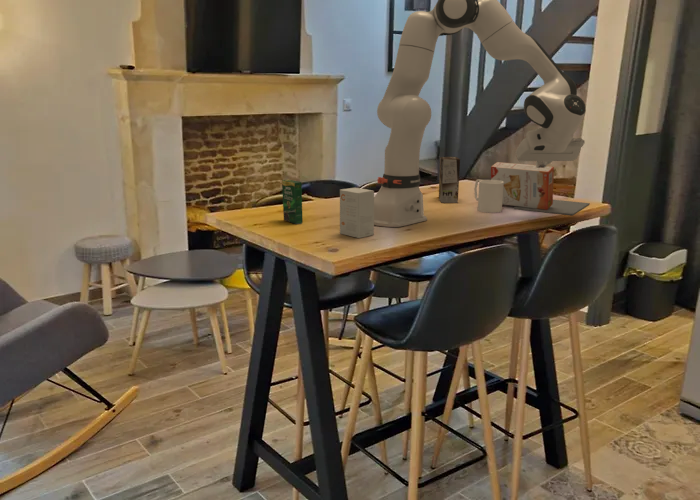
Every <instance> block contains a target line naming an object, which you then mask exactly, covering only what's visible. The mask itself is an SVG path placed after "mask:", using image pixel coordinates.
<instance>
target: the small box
mask: <svg viewBox="0 0 700 500" xmlns="http://www.w3.org/2000/svg"><path fill="white" fill-rule="evenodd" d="M374 197H375V190H371V189H366V188H360V187H350V188H342V189H339V234H341V235H346V236H350V237H353V238H356V239H360V238H365V237H370V236H374V235H375V234H374V233H375V231H374V230H375V225H374Z"/></svg>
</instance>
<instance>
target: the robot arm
mask: <svg viewBox="0 0 700 500" xmlns="http://www.w3.org/2000/svg"><path fill="white" fill-rule="evenodd" d="M464 28H465V29H466V28H467V29H470V30H471V31H472V32H474V33H473V34H476V36H477V39H478V40H479V41H480V43H481V45H482V46H483V48H484V50H485V51H486V52H487V54H488V55H489V56H490V57H491V58H492V59H495V60H498V61H503V62H504V61H513V60H519V61H520V60H522V61H525V62H526V63H528V65H530V66H531V67H532V69H533V70H534V71H535V72H536V74H537V75H538V76H539V77H540V78H541V80H542V81H543V85H541V86H540V87H538V88H537V89H536V90H534V91H533V92H532V93H530V94H529V95H528V96H527V97H525V98H524V101H523V111H524V114H525V115H526V117H527V118H528V120H529V121H531V122H532V123H534V124H535V125H537V126H539V127H540V128H537V129H531V130H528V131H527V132H526V134H525V138H523V139H522V140H521V141H520V143H518V146H517V147H516V149H515V156H516V159H517V161H518V162H535V165H536V168H545V167H546V166H548V165H550V164H551V163H552V162H574V161H575V160H577V159H578V158H579V155H580V153H581V150H582V148H583V146H584V145H585V140H584V139H582V138H580V137H578V138H574V134H576V132H577V131H578V130H579V128H580V126H581V125H582V122H583V120H584V118H585V116H586V111H587V109H586V108H587V107H586V103H585V101H584V100H583V98H582V97H580V96H579V95H577V94H578V92H577V91H578V89H577V86H576V83H575V81H574V80H573V79H572V78H571V77H570V76H569V75H567V74H566V73H565V72H564V71H563V70H562V69H561V68H560V66H558V64H557V63H556V62H555V61H554V60H553V58H552V57H551V56H550V55H549V54H548V52H547V51H546V50H545V49H544V47H543V46H542V45H541V44H540V43H539V41H537V39H535V38H534V37H533V36H532V35H529V34H527V33H526V32H524V31H522V30H521V29H520V27H518V25H517V24H516V23H515V21H514V19H513V18H512V17H511V15H510V14H509V12H508V11H507V10H506V8H505V7H504V6H503V4H502V3H500V1H499V0H437V2H436V4H435V5H434V7H433V9H431V10H430V11H423V10H418V11H413V12H412V13H411V14H409V15H408V17H407V19H406V22H405V23H404V27H403V29H402V33H401V36H400V40H399V43H398V48H397V53H396V58H395V63H394V67H393V70H392V71H393V72H392V75H391V77H390V80H389V82H388V85H387V88H386V90H385V92H384V95H383V97H382V99H381V100H380V102H379V103H378V106H377V110H376V112H377V113H376V114H377V118H378V119H379V121H380V122H381V123H382V124H383V125H384V126H386V128H388V129H390V134H389V135H390V136H389V138H388V141H387V142H388V143H387V145H386V146H385V149H384V173H383V174H382V177H380V176H378V177H377V180H376V181H377V184H380V188H379V190H378V191H377V192H376V194H374V226H378V227H379V226H380V227H385V228H386V227H389V228H401V227H403V226H409V225H414V224H418V223H421V222H426V221H427V220H428V218H427V216H426V215H424V214H425V213H424V194H423V193H422V192H421V189H420V187H419V186H420V185H421V174H420V156H421V153H420V152H421V147H422V141H423V137H424V134H425V130H426V127H427V126H428V125H429V123H430V121H431V118H432V108H431V106H430V104H429V103H428V101H426V100H425V99H424V98H422V97H420V94H421V91H422V89H423V87H424V86H425V84H426V82H427V81H428V80H429V77H430V73H431V69H432V64H433V58H434V55H435V50H436V45H437V42H438V38H439V37H443V36H451V35H456V34H457V33H460V32H461V31H462V30H463V29H464Z"/></svg>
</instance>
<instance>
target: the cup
mask: <svg viewBox="0 0 700 500" xmlns="http://www.w3.org/2000/svg"><path fill="white" fill-rule="evenodd" d="M503 186H504V182H503V181H499V180H491V179H479V178H477V179H476V180H475V183H474V188H473V189H474V198H475V200H476V201H477V211H478V212H482V213H491V214H493V213H494V214H495V213H500V212H502V211H503V204H502V201H503Z"/></svg>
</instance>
